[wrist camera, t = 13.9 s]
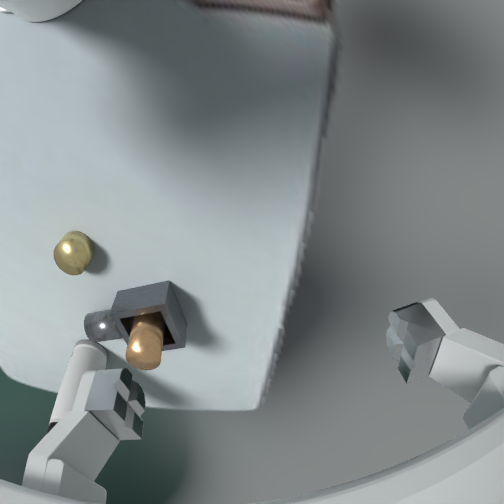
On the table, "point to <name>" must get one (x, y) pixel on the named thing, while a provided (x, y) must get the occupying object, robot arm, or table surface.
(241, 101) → the table surface
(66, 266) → the brass round knob
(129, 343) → the copper brown cylinder
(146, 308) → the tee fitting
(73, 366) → the travel mug
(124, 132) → the table surface
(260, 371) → the table surface
